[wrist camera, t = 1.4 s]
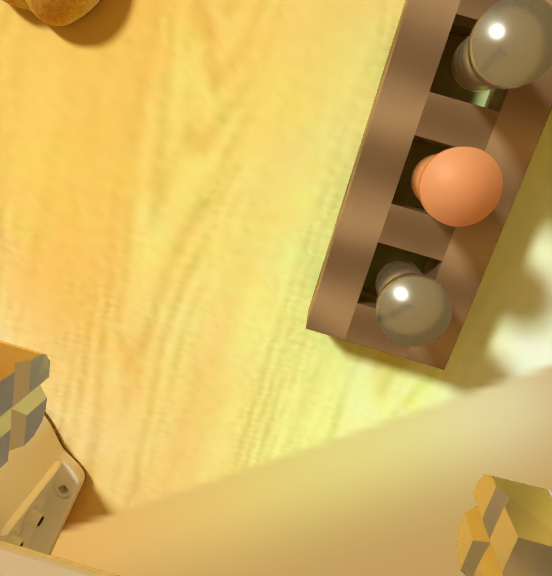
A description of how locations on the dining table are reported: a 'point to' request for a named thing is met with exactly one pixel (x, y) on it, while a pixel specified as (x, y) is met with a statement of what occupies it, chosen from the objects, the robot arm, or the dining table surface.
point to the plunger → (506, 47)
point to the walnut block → (388, 167)
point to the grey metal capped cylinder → (411, 305)
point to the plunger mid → (458, 185)
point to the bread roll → (56, 9)
